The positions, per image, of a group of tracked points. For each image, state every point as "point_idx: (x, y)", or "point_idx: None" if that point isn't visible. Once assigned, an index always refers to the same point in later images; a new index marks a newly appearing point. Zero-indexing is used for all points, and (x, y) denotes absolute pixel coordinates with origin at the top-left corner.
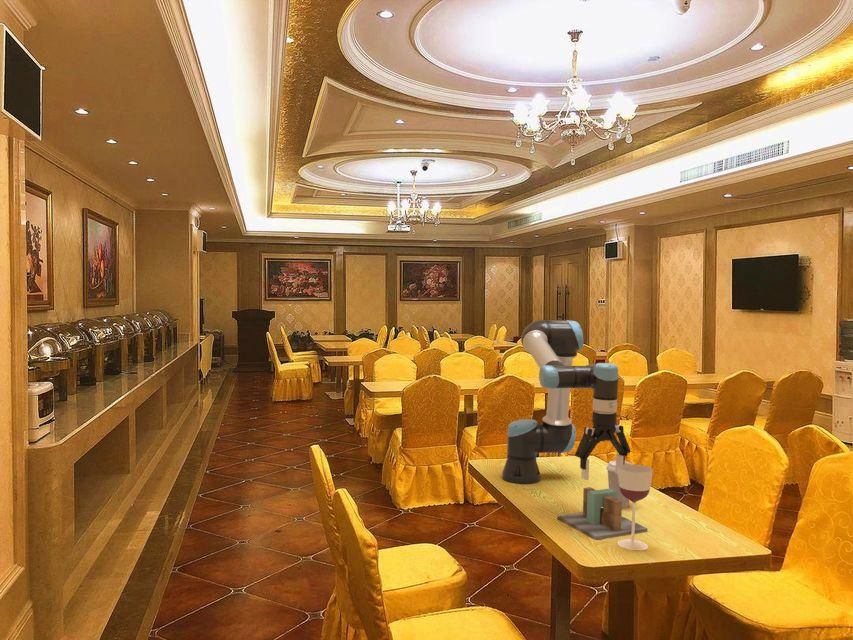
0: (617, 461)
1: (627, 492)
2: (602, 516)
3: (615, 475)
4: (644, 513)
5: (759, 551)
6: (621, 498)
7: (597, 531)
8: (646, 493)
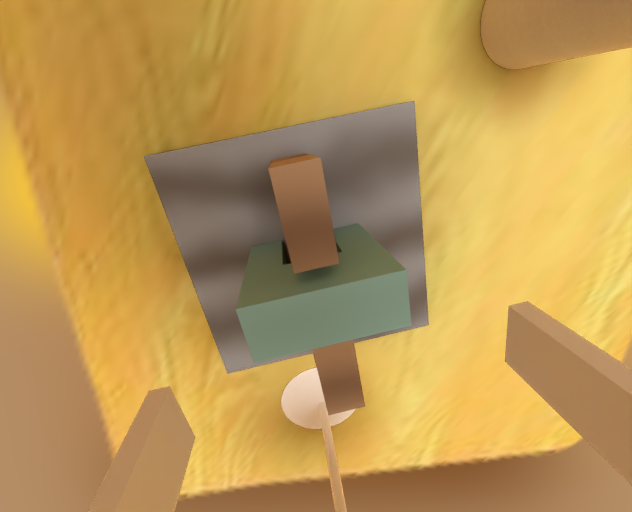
0: (625, 420)
1: None
2: None
3: None
4: (541, 153)
5: (575, 438)
6: (535, 58)
7: None
8: None
